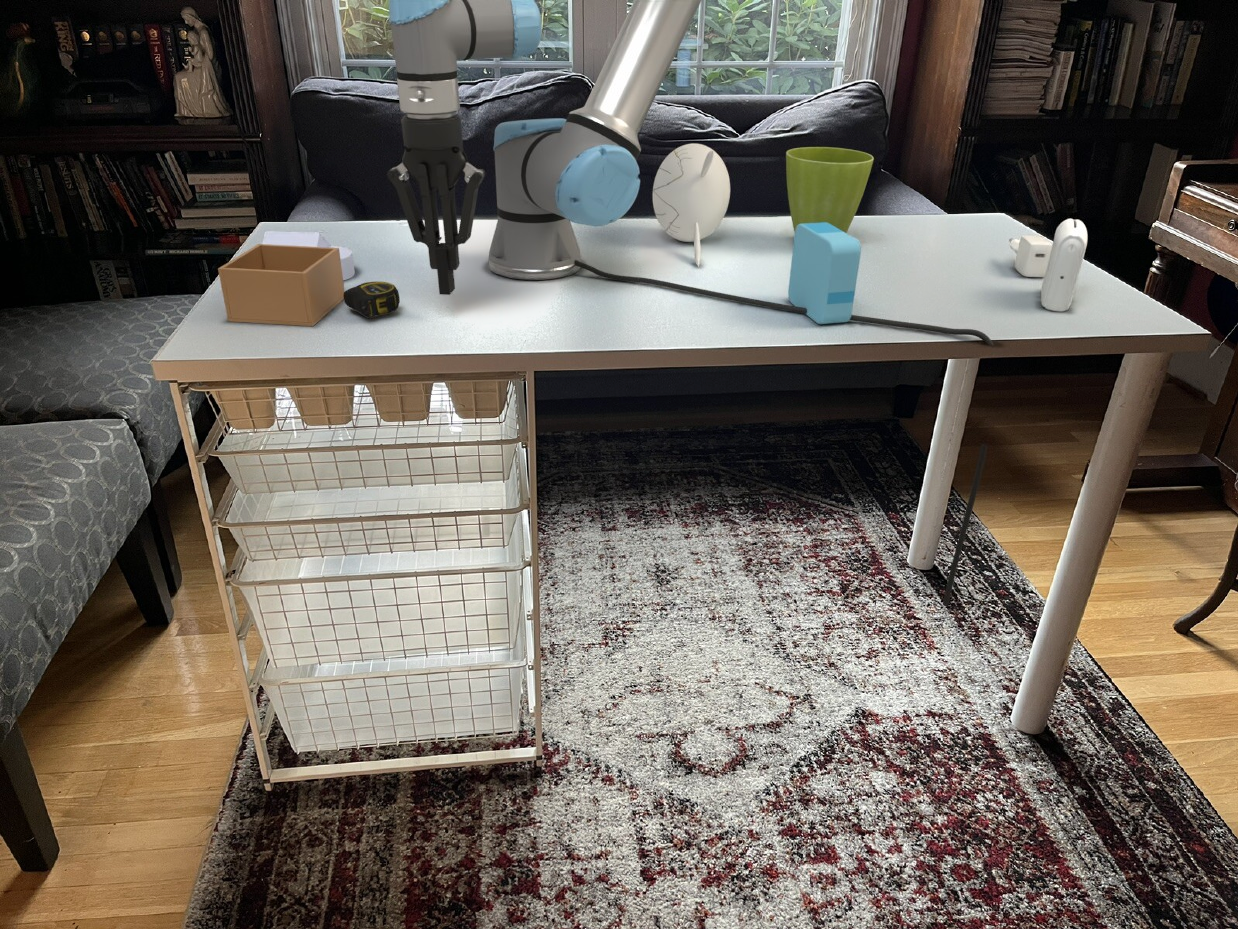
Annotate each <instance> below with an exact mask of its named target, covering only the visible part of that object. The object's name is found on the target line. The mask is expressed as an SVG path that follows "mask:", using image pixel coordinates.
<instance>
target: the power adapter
mask: <svg viewBox="0 0 1238 929" xmlns="http://www.w3.org/2000/svg"><path fill="white" fill-rule="evenodd" d="M1008 242H1009V245H1008V246H1009V248H1010V249H1011V251H1013V253H1015V254H1016V255H1015V259H1014V269H1015V270H1016V271H1017V272H1018V273H1019V274H1021V275H1022V276H1023V277H1027V278H1044V277H1045V273H1046V269H1047V265H1048V261H1049V257H1050V253H1051V249H1052V245H1053V242H1051V241H1049V240H1048V239H1047V238H1046V237H1045V236H1042V235H1035V234H1034V235H1033V234H1032V235H1031V234H1025V235H1022V236H1021V237H1020V239H1013V238H1012V237H1011V238H1009V239H1008Z"/></svg>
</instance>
